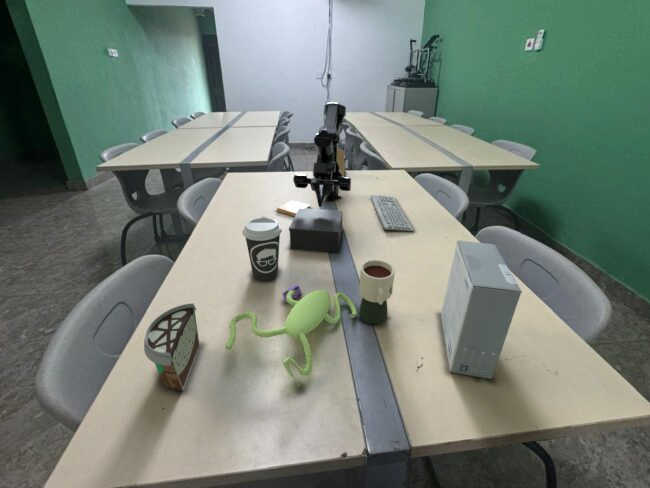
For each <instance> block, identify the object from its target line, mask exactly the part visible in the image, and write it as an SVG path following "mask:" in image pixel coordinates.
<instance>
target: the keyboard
mask: <svg viewBox="0 0 650 488" xmlns="http://www.w3.org/2000/svg"><path fill="white" fill-rule="evenodd" d="M370 199H371V202H372V204H373V207H374V209H375V211H376V214H377V216H378V218H379V220H380V224H381V226H382V228H383V230H387V231H399V232H400V231H403V232H414V229H413V228H414V227H413V226H412V225H411V224H410V222H409V220H408V218H407V217H406V215H405V213H404V212H403V210H402V208H401V207H400V205H399V204H398V202H397V200H396V198H395V197H393V196H387V195H374V194H371V195H370Z"/></svg>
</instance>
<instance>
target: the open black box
mask: <svg viewBox="0 0 650 488" xmlns="http://www.w3.org/2000/svg"><path fill="white" fill-rule="evenodd" d="M343 214H344V213H342V215H343ZM342 232H343V218H342V219H341V224H340V229H339V234H327V233H314V232H301V231H289V247H290V250H302V251H315V252H326V253H337V254H338V253H339V249H340V245H341V244H340V243H341V238H342Z"/></svg>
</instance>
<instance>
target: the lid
mask: <svg viewBox="0 0 650 488" xmlns="http://www.w3.org/2000/svg"><path fill="white" fill-rule="evenodd" d="M342 213H343V210H333V209H322V208H320V209H319V208H310V209H307V208H299V209H298V211H297V213H296V215H295V216H293V220H292V222H291V223H290V225H289V227H288V231H289V232H290V231H301V232H314V233H327V234H339V229H340V224H341V219H342V220H343V214H344V213H343V214H342Z"/></svg>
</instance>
